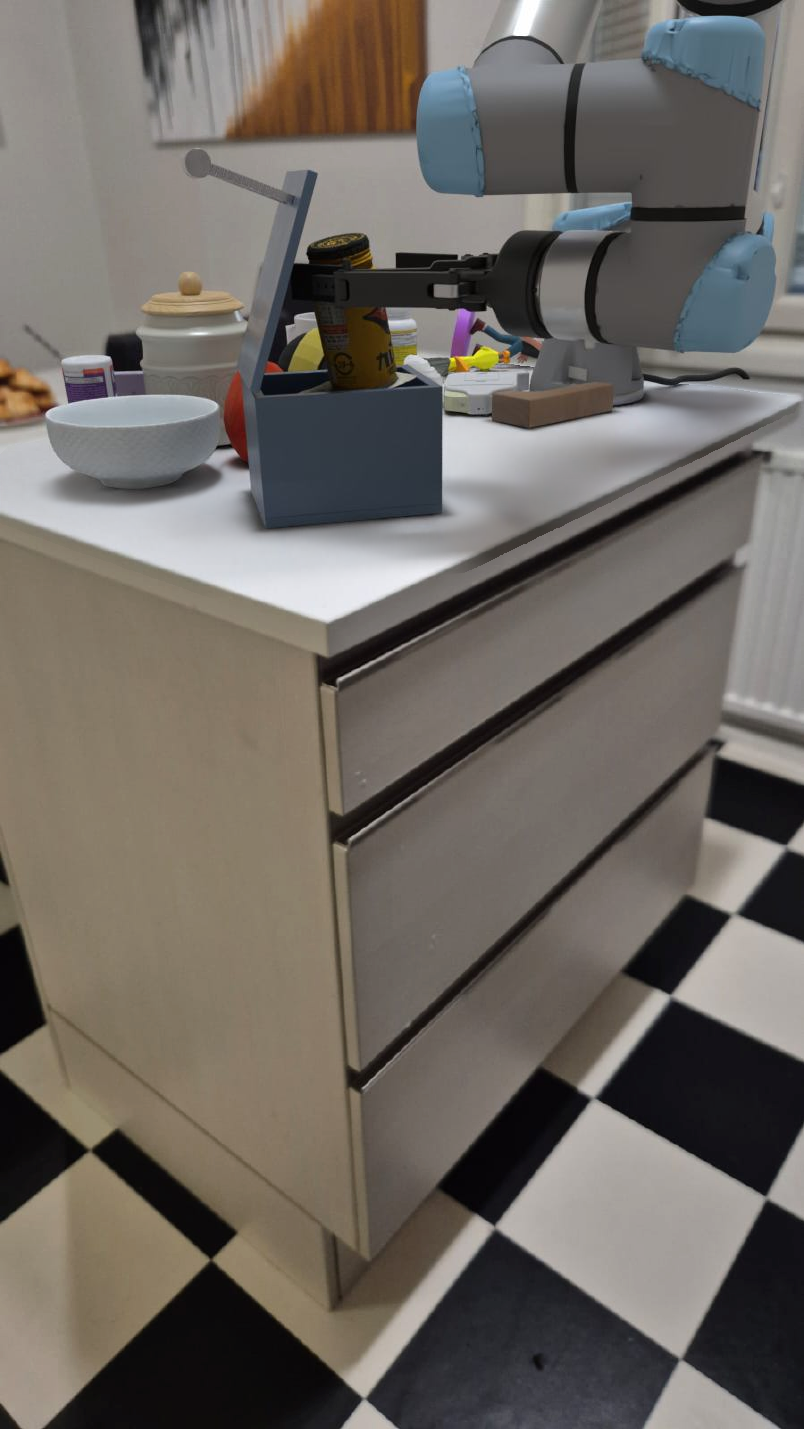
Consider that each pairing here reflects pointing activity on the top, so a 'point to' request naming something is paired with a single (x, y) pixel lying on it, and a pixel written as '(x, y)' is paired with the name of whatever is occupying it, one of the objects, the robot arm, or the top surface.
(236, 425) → the apple
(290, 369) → the bomb
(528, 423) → the wooden block
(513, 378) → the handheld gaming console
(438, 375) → the pincushion
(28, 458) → the top surface
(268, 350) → the lid
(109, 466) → the cereal bowl
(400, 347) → the pill bottle
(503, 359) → the toy figure
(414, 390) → the blue-grey open box
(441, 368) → the grey piece
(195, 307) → the jar
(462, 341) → the figurine
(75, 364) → the pill bottle
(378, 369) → the condiment
